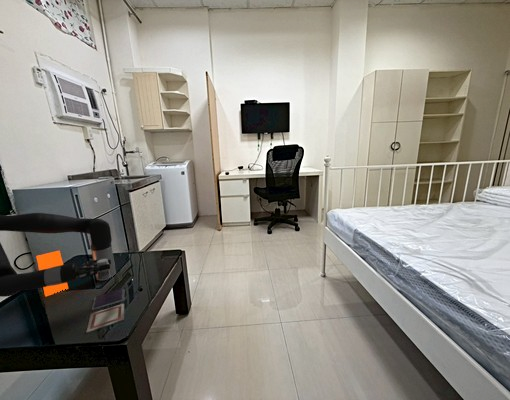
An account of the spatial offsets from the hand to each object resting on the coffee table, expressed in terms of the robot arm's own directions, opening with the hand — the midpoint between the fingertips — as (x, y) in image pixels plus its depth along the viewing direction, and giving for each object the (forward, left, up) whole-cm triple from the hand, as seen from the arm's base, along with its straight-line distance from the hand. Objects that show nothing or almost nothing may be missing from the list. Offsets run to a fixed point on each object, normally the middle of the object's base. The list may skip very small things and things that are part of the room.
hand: (110, 263), depth 99 cm
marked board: (+11, -9, -17) cm, 22 cm away
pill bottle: (-1, -2, -6) cm, 7 cm away
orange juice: (-36, -10, -17) cm, 41 cm away
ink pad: (-1, -2, -17) cm, 17 cm away
